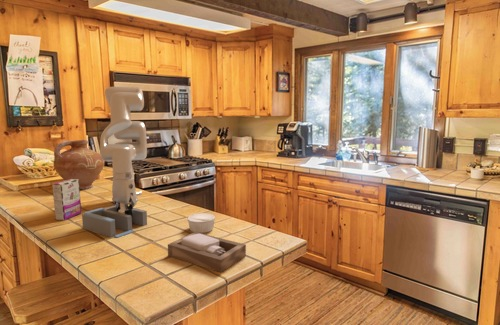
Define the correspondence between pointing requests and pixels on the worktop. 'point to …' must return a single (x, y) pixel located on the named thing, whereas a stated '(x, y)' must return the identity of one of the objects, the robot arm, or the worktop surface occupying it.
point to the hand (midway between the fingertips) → (124, 217)
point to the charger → (203, 244)
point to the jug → (78, 163)
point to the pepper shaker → (122, 208)
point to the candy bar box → (66, 199)
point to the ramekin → (201, 222)
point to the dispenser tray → (209, 254)
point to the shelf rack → (112, 221)
